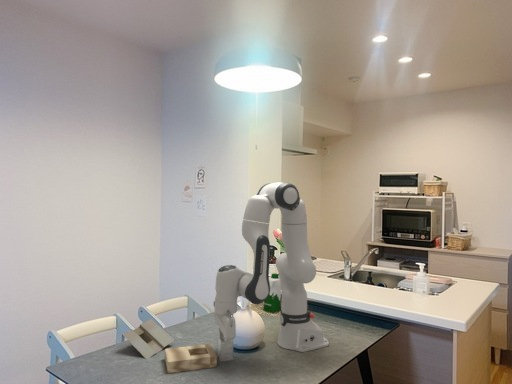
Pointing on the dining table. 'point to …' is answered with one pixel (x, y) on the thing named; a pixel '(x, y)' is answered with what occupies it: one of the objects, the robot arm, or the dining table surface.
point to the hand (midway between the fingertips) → (224, 342)
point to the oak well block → (190, 358)
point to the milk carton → (273, 295)
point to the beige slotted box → (148, 338)
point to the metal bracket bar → (225, 350)
